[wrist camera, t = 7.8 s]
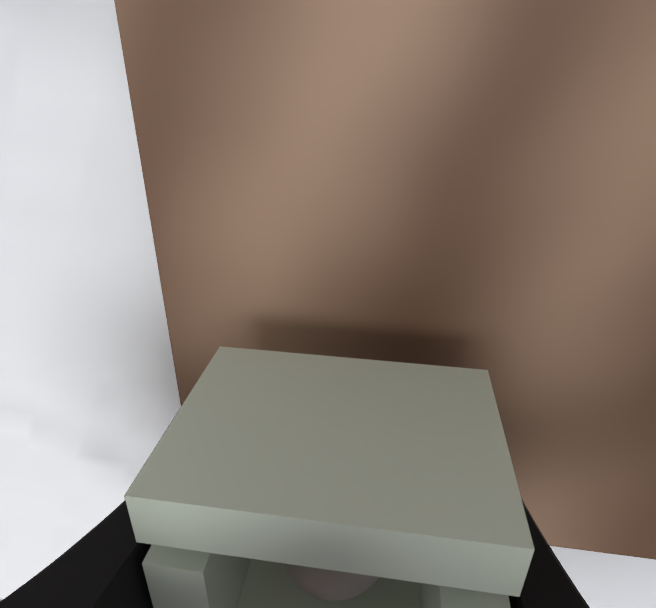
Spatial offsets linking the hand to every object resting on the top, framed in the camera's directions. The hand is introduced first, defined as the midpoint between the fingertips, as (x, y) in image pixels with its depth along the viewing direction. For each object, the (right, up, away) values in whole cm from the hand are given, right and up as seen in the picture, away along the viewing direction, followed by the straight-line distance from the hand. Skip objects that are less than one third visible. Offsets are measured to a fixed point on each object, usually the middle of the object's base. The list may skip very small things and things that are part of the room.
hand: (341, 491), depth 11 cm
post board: (+3, +6, +1) cm, 7 cm away
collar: (0, 0, +1) cm, 1 cm away
